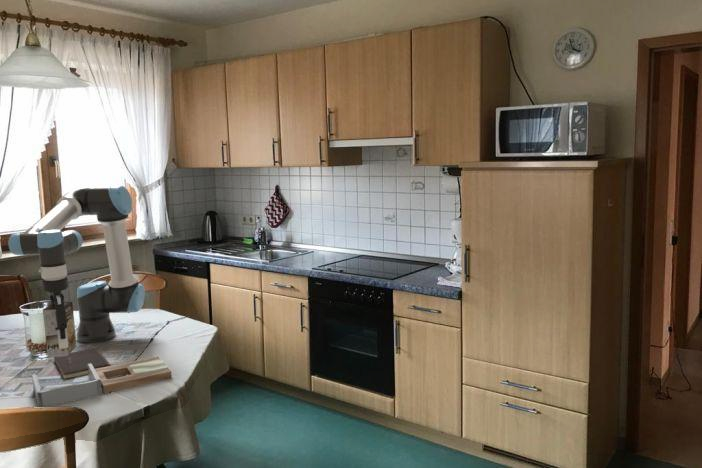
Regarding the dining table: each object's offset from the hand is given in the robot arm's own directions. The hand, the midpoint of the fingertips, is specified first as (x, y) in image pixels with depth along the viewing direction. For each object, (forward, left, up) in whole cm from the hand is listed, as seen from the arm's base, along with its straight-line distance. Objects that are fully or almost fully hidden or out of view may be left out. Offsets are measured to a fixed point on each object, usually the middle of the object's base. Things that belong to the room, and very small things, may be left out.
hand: (61, 343), depth 204 cm
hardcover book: (-21, +8, -16) cm, 27 cm away
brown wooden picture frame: (+3, +21, -15) cm, 26 cm away
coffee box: (0, 0, -3) cm, 3 cm away
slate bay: (+4, 0, -15) cm, 16 cm away
